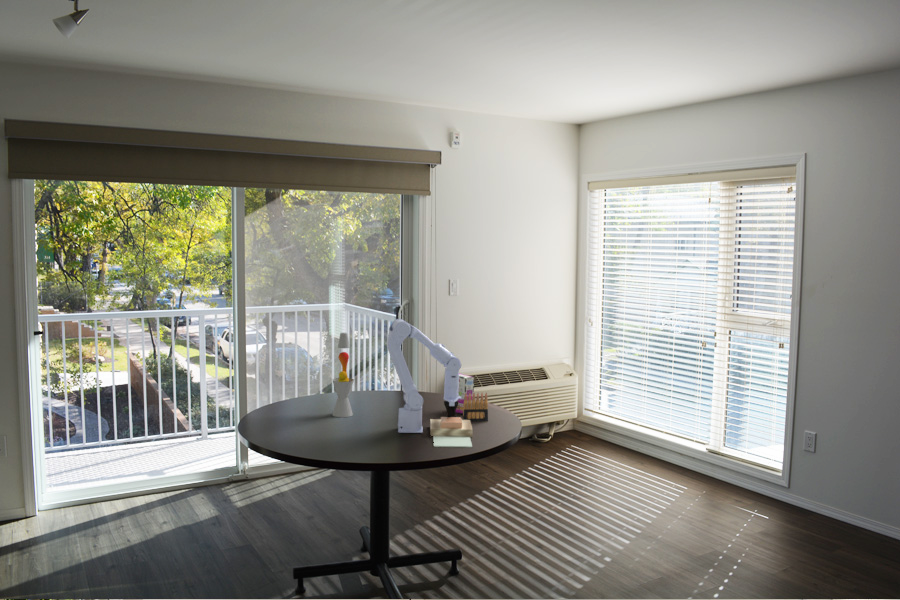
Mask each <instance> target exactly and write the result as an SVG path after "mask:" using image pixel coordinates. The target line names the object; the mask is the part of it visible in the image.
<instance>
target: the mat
mask: <svg viewBox="0 0 900 600" xmlns="http://www.w3.org/2000/svg"><path fill="white" fill-rule="evenodd" d="M432 440H433V442H434V443H433V447H434V448H473V443H472V441H471V437H460V436H433V437H432Z"/></svg>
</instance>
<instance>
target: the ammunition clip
mask: <svg viewBox="0 0 900 600" xmlns="http://www.w3.org/2000/svg"><path fill="white" fill-rule="evenodd" d="M488 406H489V401H488V393H487V392H485V394H484V393H483V392H481V394H479V392H477V393H476V394H475V392H474V393H473V397H472V408H471V394H470V393H469V396H468V406H467V394H466V393H465V396H464V404H463V414H462V417H461V420H470V422H488V421H489V411H488V410H489V407H488Z"/></svg>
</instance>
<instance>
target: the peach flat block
mask: <svg viewBox="0 0 900 600" xmlns="http://www.w3.org/2000/svg"><path fill="white" fill-rule="evenodd" d="M440 419H441V428H462V417H459V416H456V417H455V416H454V417H447V416H440Z"/></svg>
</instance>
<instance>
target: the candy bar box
mask: <svg viewBox="0 0 900 600" xmlns="http://www.w3.org/2000/svg"><path fill="white" fill-rule="evenodd" d="M474 389H475V377H474V376H472V375H471V376H470V375H468V374H463V373H460V372H459V393H458V396H459V397H461V399H458V400H457V401H458V406H457V408H456V410H455V413H457V414H460V415H463V404H464V396H465V393H466V394H467V406H468V396H469V393H470V394H471V408H472V397H473V393H475V391H474Z"/></svg>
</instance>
